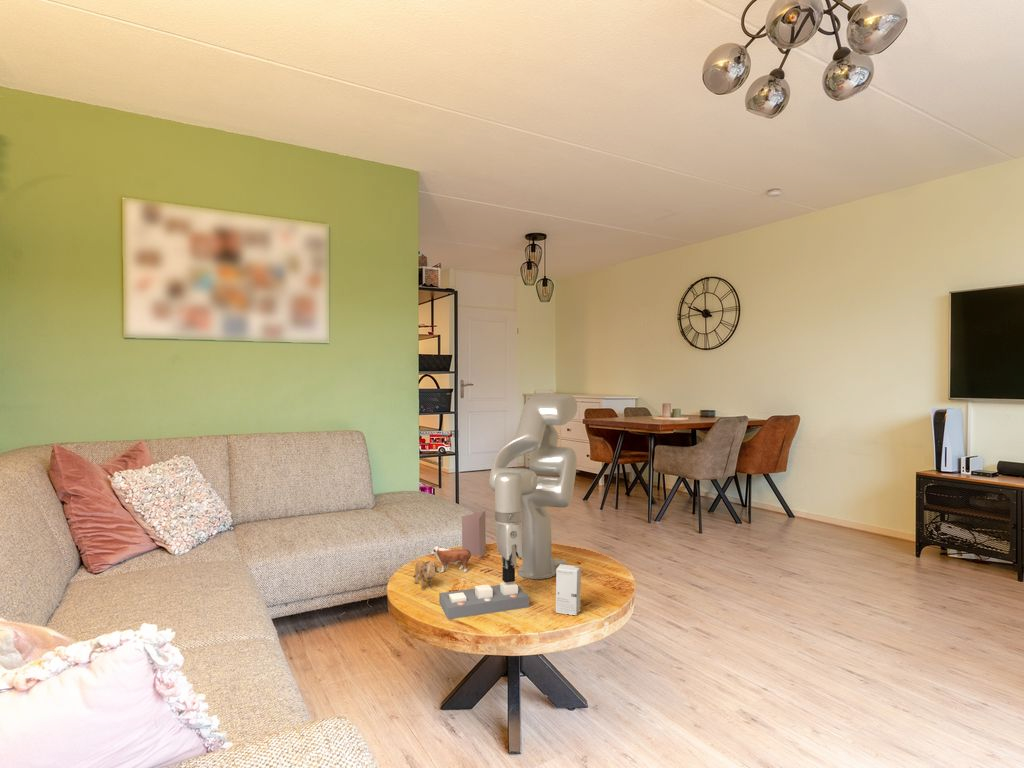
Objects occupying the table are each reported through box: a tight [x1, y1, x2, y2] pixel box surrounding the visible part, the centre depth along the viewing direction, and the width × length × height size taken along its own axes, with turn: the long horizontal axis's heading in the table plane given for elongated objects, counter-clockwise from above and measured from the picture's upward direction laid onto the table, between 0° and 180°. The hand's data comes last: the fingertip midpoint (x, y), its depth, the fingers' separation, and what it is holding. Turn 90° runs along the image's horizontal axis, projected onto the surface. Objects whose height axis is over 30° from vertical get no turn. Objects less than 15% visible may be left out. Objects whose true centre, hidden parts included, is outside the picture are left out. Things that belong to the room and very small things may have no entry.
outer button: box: [449, 592, 466, 603], centre depth 156 cm, size 4×4×4 cm
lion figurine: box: [413, 560, 442, 591], centre depth 174 cm, size 15×5×9 cm, turn 36°
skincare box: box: [555, 564, 582, 616], centre depth 153 cm, size 6×4×12 cm
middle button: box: [474, 583, 493, 599], centre depth 158 cm, size 4×4×4 cm
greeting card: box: [461, 510, 487, 562], centre depth 201 cm, size 11×7×15 cm, turn 136°
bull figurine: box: [431, 545, 472, 574], centre depth 186 cm, size 4×13×8 cm, turn 84°
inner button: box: [499, 581, 518, 595], centre depth 160 cm, size 4×4×4 cm
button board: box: [438, 582, 530, 620], centre depth 158 cm, size 23×11×3 cm, turn 109°
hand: (508, 581), depth 160 cm, fingers closed
